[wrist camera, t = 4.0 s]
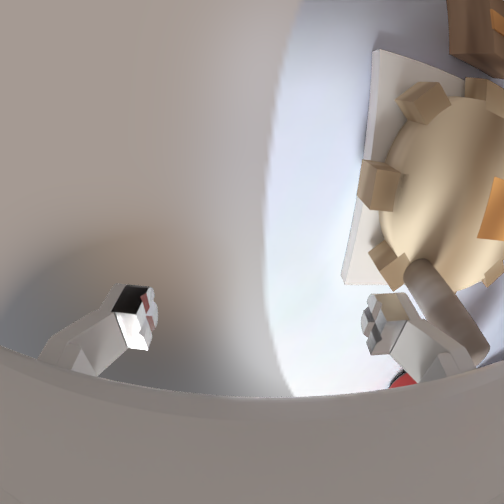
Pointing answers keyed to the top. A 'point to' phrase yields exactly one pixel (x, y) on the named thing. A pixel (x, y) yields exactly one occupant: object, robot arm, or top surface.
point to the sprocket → (442, 202)
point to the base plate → (385, 149)
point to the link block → (478, 34)
